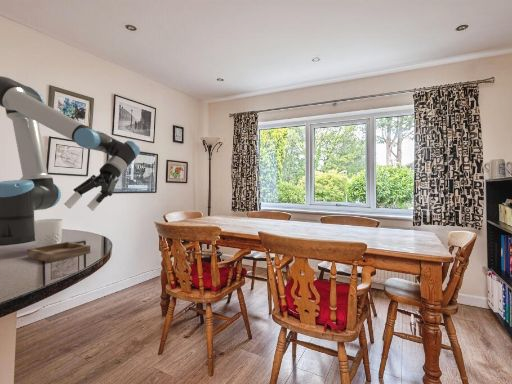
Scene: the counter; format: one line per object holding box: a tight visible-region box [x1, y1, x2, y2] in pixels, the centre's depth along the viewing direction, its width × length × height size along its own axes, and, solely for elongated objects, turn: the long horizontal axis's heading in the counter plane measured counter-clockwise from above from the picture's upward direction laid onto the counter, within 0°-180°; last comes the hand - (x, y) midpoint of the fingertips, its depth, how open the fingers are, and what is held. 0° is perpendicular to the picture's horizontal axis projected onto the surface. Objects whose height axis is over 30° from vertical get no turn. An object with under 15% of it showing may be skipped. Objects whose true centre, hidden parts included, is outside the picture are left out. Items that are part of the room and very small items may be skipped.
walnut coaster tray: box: [27, 241, 91, 264], centre depth 87 cm, size 12×12×2 cm
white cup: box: [34, 218, 63, 248], centre depth 94 cm, size 8×8×10 cm
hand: (78, 207), depth 103 cm, fingers open, 13 cm apart
